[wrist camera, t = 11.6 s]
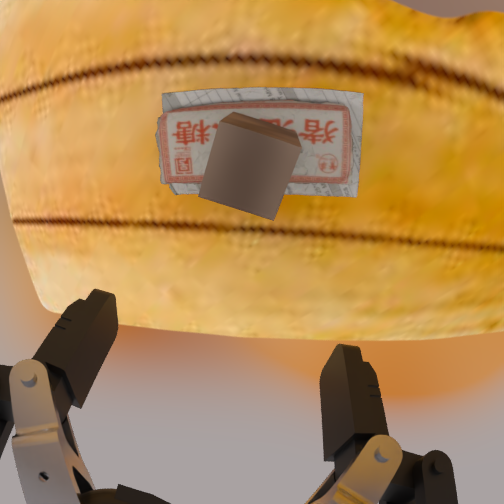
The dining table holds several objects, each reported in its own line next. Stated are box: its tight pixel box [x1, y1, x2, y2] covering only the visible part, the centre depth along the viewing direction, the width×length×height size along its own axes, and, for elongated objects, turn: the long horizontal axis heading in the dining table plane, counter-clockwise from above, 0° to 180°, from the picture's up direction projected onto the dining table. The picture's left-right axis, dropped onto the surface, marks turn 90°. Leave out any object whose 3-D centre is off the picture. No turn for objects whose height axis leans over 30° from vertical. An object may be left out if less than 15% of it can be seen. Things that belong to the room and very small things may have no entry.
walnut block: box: [198, 112, 302, 221], centre depth 21 cm, size 5×5×6 cm
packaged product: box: [155, 87, 364, 197], centre depth 26 cm, size 18×5×10 cm
